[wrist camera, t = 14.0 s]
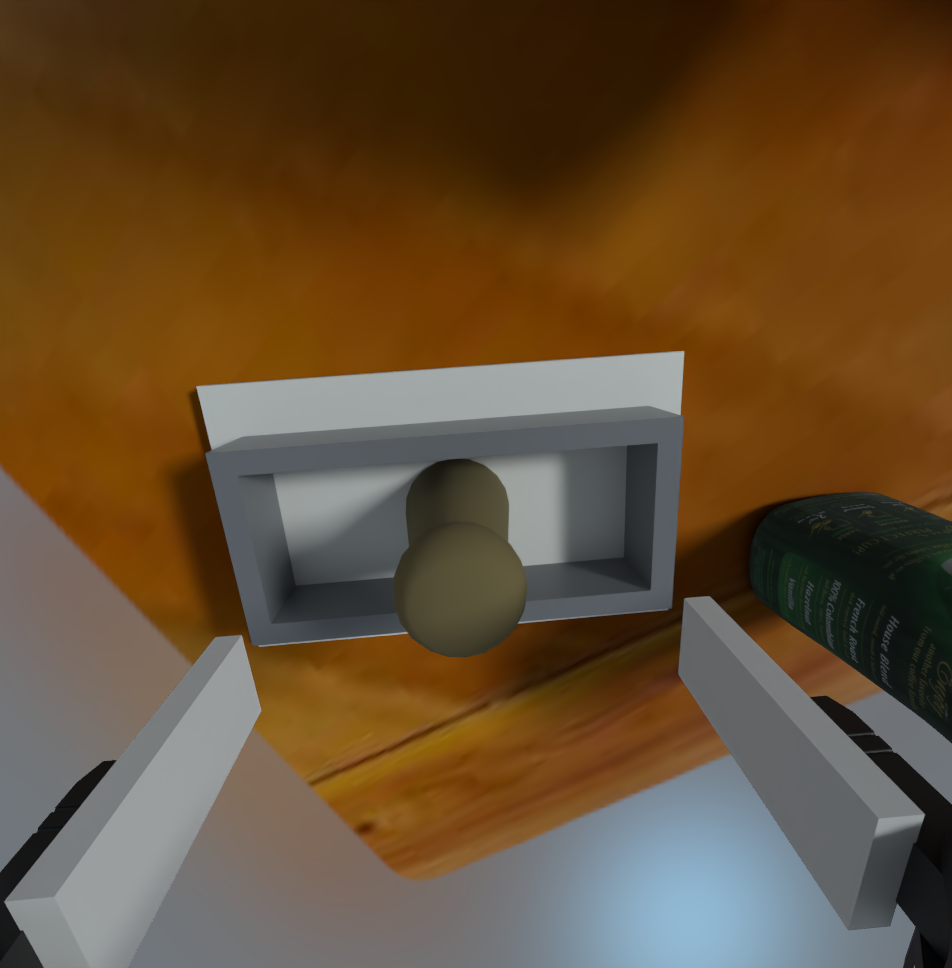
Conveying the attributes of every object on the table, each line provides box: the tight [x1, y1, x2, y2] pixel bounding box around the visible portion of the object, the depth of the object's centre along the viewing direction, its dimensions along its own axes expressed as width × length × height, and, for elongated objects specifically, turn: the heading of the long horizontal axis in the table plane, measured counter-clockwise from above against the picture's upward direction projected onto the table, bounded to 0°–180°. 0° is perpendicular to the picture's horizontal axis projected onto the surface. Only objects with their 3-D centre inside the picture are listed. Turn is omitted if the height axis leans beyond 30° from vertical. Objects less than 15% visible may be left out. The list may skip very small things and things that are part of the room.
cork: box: [393, 459, 527, 657], centre depth 22 cm, size 6×6×11 cm
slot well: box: [197, 351, 684, 647], centre depth 25 cm, size 26×16×5 cm, turn 94°
